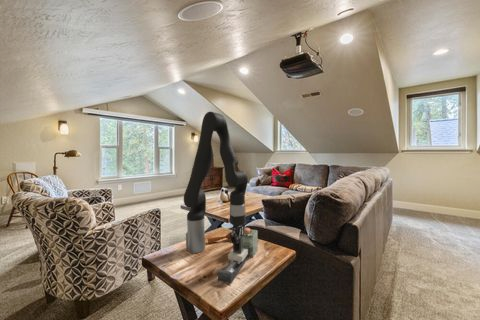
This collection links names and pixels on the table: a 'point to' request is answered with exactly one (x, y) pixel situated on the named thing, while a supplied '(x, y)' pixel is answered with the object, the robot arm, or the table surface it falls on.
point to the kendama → (218, 238)
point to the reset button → (247, 231)
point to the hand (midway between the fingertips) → (238, 248)
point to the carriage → (238, 252)
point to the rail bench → (233, 268)
